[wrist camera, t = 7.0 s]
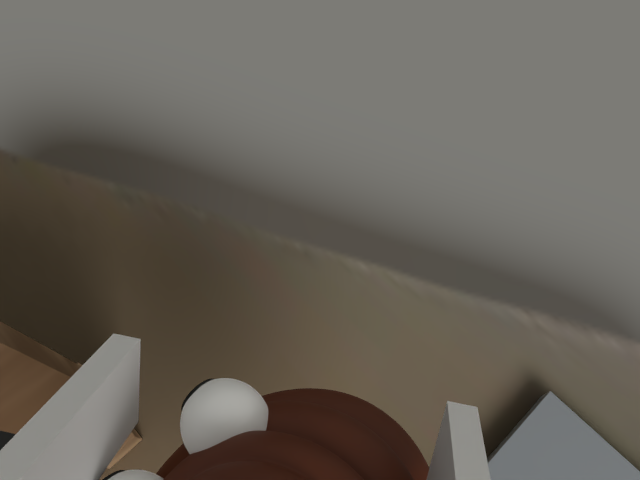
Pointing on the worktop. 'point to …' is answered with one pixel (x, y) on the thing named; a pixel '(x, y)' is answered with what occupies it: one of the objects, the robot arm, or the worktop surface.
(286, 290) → the worktop surface
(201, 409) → the poop emoji
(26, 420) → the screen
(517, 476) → the board
